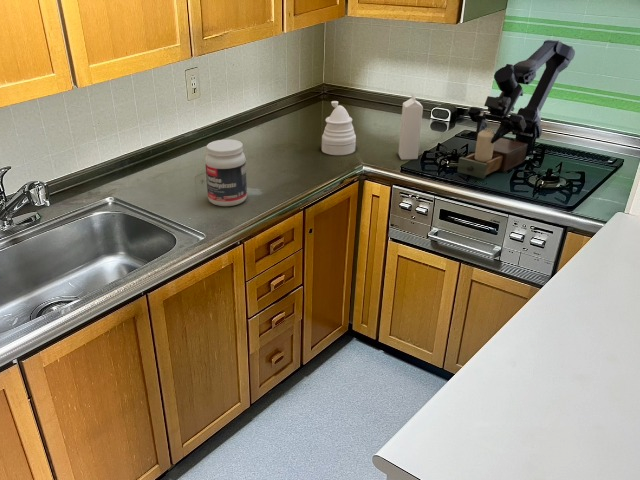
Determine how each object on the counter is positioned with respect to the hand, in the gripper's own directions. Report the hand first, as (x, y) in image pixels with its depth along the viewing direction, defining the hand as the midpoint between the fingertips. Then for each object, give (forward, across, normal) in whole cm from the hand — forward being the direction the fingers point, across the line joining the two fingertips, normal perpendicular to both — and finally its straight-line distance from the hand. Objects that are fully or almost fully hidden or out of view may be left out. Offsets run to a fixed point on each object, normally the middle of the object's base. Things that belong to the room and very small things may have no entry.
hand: (483, 141), depth 207 cm
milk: (+10, -28, +7) cm, 30 cm away
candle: (+4, 0, +6) cm, 7 cm away
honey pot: (+17, -52, -1) cm, 55 cm away
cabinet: (-1, 0, +17) cm, 17 cm away
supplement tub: (+60, -45, -45) cm, 87 cm away
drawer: (+7, 0, +7) cm, 10 cm away
